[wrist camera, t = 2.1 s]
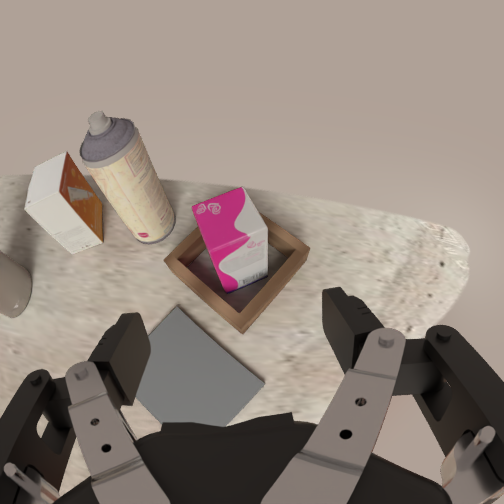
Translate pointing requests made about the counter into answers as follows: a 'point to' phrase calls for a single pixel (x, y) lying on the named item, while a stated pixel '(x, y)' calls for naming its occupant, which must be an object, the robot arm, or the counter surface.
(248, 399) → the slate mat
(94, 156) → the aerosol can
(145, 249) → the counter surface
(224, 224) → the supplement box
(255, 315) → the tray
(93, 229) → the small box
